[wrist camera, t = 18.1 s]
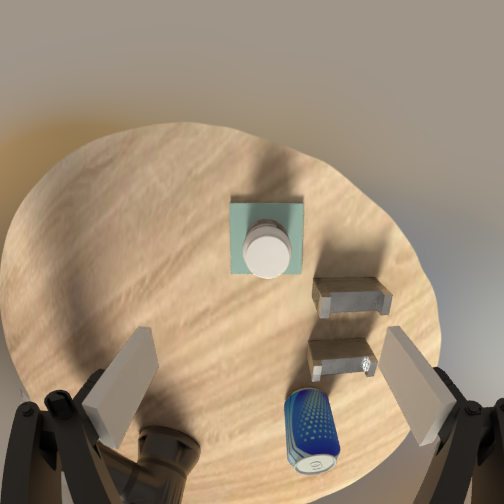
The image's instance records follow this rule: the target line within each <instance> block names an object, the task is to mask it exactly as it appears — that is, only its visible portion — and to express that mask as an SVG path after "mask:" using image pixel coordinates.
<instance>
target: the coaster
mask: <svg viewBox="0 0 504 504" xmlns="http://www.w3.org/2000/svg"><path fill="white" fill-rule="evenodd" d="M303 208H304V204H303V203H230V248H231V274H253V273H252V272H251V271H250V270H249V268H248V266H247V264H246V262H245V260H244V257H243V252H242V250H243V243H244V240H245V236H246V233H247V231H248V229H249V227H250V226H251V225H252V224H253V223H254V222H256V221H258V220H261V219H272V220H275V221H277V222H279V223H280V224H281V225H282V226H283V227H284V229H285V230H286V232H287V235H288V237H289V240H290V242H291V246H292V254H291V258H290V261H289V265H288V267H287V269H286V270H285V271H284V272H283V273H282V274H301V267H302V243H303Z"/></svg>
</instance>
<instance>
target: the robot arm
mask: <svg viewBox="0 0 504 504" xmlns="http://www.w3.org/2000/svg"><path fill="white" fill-rule="evenodd" d="M378 367H379V368H380V370H381V372H382V374H383V376H384V378H385V380H386V381H387V383H388V385H389V387H390V389H391V391H392V393H393V395H394V397H395V399H396V401H397V403H398V404H399V406H400V408H401V410H402V412H403V414H404V416H405V418H406V420H407V422H408V424H409V426H410V428H411V431H412V433H413V435H414V437H415V439H416V441H417V443H418V445H419V446H423V445H426V444H429V443H432V442H433V441H434V439H435V438H436V436H437V435H439V437H440V439H441V440H440V441H439V443H438V444H437V446H436V447H435V449H434V450H433V452H432V454H434V456H433V459H432V461H431V464H430V466H429V469H428V472H427V474H426V476H425V479H424V481H423V483H422V485H421V487H420V490H419V492H418V494H417V496H416V498H415V500H414V502H413V504H464V500H465V498H466V494H467V491H468V488H469V484H470V481H471V477H472V497H471V504H504V398H500V399H499V400H497V402H496V404H495V405H494V407H486V408H483V407H482V406H481V405H480V404H479V403H478V402H475V401H470V400H469V401H467V400H466V399H465V397H464V396H463V395H462V393H461V392H460V391H459V389H458V388H457V387H456V385H455V384H453V382H452V380H451V379H450V378H449V376H448V375H447V374H446V373H445V371H443V370H442V369H440V368H438V367H433V368H432V367H431V365H430V364H429V363H428V361H427V360H426V359H425V358H424V356H423V355H422V354H421V352H420V351H419V350H418V349H417V347H416V346H415V345H414V344H413V342H412V341H411V340H410V339H409V337H408V336H407V335H406V334H405V332H404V331H403V330H402V329H401V327H400V326H393V327H388V328H387V332H386V337H385V341H384V345H383V349H382V353H381V357H380V361H379V365H378ZM158 368H159V365H158V360H157V355H156V351H155V346H154V341H153V336H152V331H151V328H150V327H138V328H137V329H136V331H135V332H134V333H133V335H132V336H131V337H130V338H129V340H128V341H127V342H126V344H125V345H124V346H123V348H122V349H121V350H120V352H119V353H118V354H117V356H116V357H115V358H114V360H113V361H112V362H111V364H110V365H109V366H108V368H107V369H106V370H103V369H99V370H97V371H96V372H94V373H93V374H92V375H91V376H90V377H89V379H88V380H87V382H86V383H85V384H84V385H83V387H82V388H81V389H80V390H79V392H78V393H77V394H76V396H75V397H74V398H73V400H72V398H71V396H70V394H69V393H68V392H67V391H64V390H55V391H53V392H51V393H49V394H48V395H47V396H46V397H45V400H44V403H45V405H46V407H47V409H48V411H41V410H40V409H39V407H38V405H37V404H36V403H34V402H30V401H29V402H25V403H22V404H21V405H20V406H19V407H18V408H17V410H16V414H15V417H14V421H13V425H12V429H11V434H10V438H9V443H8V448H7V453H6V459H5V466H4V472H3V480H2V490H1V503H0V504H181V501H182V497H183V492H184V488H185V484H186V479H187V476H188V474H189V473H190V472H191V470H192V469H193V468H194V466H195V465H196V464H197V462H198V460H199V457H200V452H201V451H200V447H199V446H198V444H197V443H196V442H195V441H194V440H193V439H191V438H190V437H188V436H187V435H185V434H183V433H181V432H179V431H176V430H173V429H170V428H165V427H158V426H153V427H147V428H145V429H143V430H142V432H141V434H140V436H139V439H138V461H137V463H135V462H133V461H132V460H130V459H128V458H127V457H125V456H123V455H121V454H120V453H118V452H116V451H115V450H113V449H111V448H110V447H112V448H116V449H118V448H119V446H120V444H121V442H122V440H123V438H124V436H125V434H126V432H127V430H128V428H129V426H130V423H131V421H132V419H133V417H134V415H135V413H136V411H137V409H138V407H139V405H140V403H141V401H142V399H143V397H144V395H145V393H146V391H147V389H148V387H149V385H150V383H151V381H152V379H153V377H154V375H155V373H156V371H157V369H158ZM99 438H100V440H101V441H102V442H101V441H100V440H98V439H99ZM108 446H109V447H108ZM434 452H435V453H434Z"/></svg>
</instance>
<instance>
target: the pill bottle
mask: <svg viewBox="0 0 504 504" xmlns="http://www.w3.org/2000/svg"><path fill="white" fill-rule="evenodd" d="M242 252H243V257H244V260H245V262H246V264H247V266H248V268H249V270H250V271H251V272H252V273H253V274H255V275H256V276H258V277H260V278H265V279H270V278H275V277H277V276H279V275H281V274H282V273H283V272H284V271H285V270H286V269H287V267H288V265H289V261H290V258H291V254H292V246H291V242H290V240H289V237H288V235H287V232H286V230H285V229H284V227H283V226H282V225H281V224H280V223H279V222H277V221H275V220H272V219H261V220H258V221H256V222H254V223H253V224H252V225H251V226H250V227H249V229H248V231H247V233H246V236H245V240H244V243H243V250H242Z"/></svg>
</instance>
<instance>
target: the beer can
mask: <svg viewBox="0 0 504 504" xmlns="http://www.w3.org/2000/svg"><path fill="white" fill-rule="evenodd" d="M284 412H285V427H286V444H287V459H288V461H289V463H290V464H291V465H292V466H293V467H294V470H295V471H296V472H297V473H299V474H302V475H316V474H321V473H324V472H327V471H329V470H330V469H332V468H333V467H334V466H335V465H336V463H337V457H338V455H339V453H340V445H339V441H338V436H337V432H336V428H335V424H334V420H333V416H332V411H331V407H330V403H329V399H328V397H327V395H326V394H325V393H324V392H322V391H320V390H319V389H316V388H312V387H305V388H301V389H298V390H296V391H294V392H293V393H292V394H291V395H290V396H289V397H288V398H287V399H286V401H285V404H284Z"/></svg>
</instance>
